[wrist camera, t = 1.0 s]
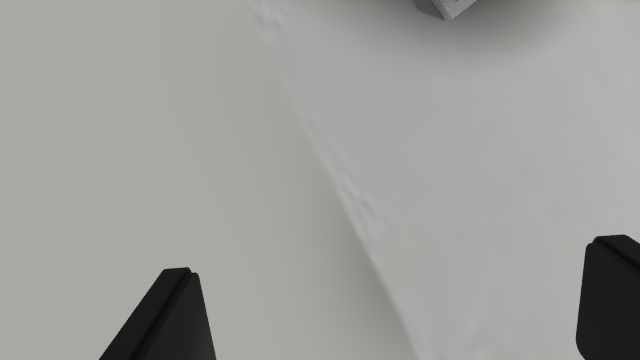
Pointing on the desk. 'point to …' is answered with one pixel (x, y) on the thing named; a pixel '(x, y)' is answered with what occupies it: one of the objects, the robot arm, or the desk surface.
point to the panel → (451, 7)
